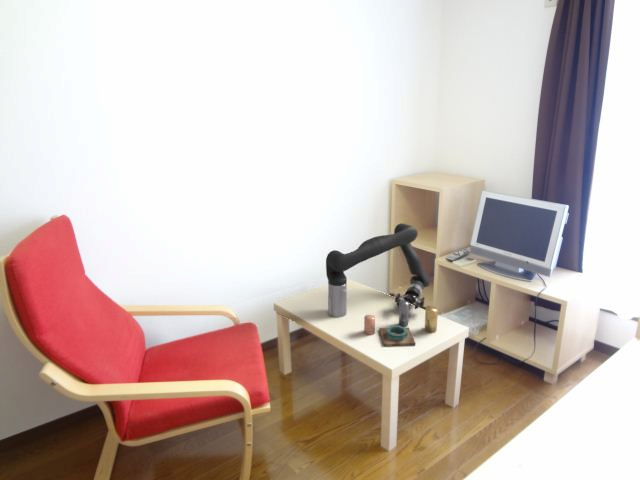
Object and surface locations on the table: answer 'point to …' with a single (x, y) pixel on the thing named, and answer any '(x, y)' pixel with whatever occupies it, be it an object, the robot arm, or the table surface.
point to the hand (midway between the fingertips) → (406, 306)
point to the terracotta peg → (369, 324)
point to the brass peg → (431, 319)
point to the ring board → (396, 336)
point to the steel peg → (403, 313)
